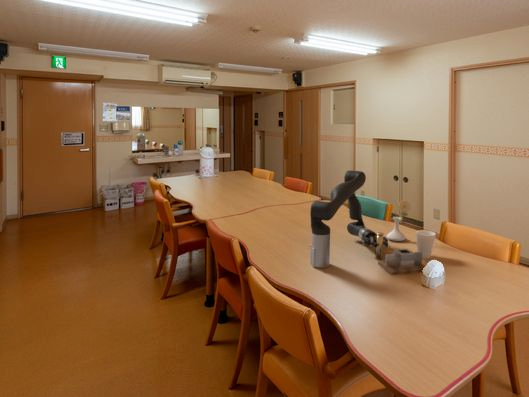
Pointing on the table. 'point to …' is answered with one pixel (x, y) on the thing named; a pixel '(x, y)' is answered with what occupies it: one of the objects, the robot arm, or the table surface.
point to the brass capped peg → (379, 245)
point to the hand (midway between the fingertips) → (381, 245)
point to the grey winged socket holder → (403, 258)
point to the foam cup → (425, 242)
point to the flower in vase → (396, 233)
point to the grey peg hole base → (397, 270)
